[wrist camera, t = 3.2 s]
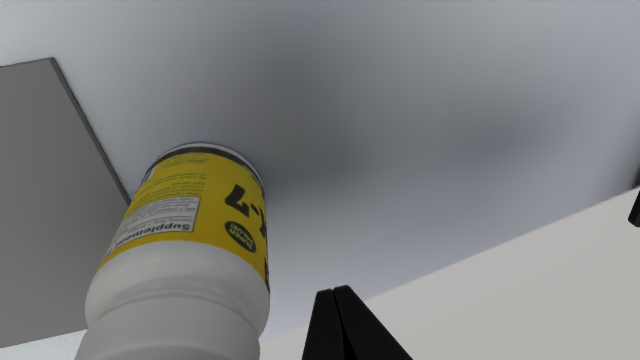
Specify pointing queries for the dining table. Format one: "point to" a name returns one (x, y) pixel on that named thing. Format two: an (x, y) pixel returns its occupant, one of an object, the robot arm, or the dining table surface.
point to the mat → (49, 205)
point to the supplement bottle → (184, 265)
